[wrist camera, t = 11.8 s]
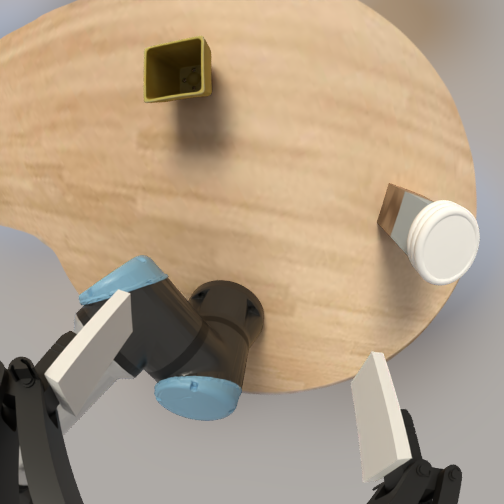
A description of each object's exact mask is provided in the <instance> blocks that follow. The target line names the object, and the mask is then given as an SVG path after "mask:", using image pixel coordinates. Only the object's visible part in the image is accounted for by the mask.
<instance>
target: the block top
mask: <svg viewBox="0 0 504 504" xmlns="http://www.w3.org/2000/svg"><path fill="white" fill-rule="evenodd" d="M431 203H433V202H432V201H429V200H427V199H424V198H422V197H419V196H417V195H414V194H411V193H409V192H406V191H405V193H404V197H403V200H402V203H401V206H400V210H399V213H398V216H397V219H396V222H395V225H394V228H393V230H392V233H391V236H390V237H391V238H392V239H393V240H394V241H395V242H396V244H397V245H398V246H399V247H400V248H401V249H402V250H403V251H404V253H405V254H406V255H407V256H408V252H407V238H408V233H409V230H410V227H411V225H412V223H413V221H414V219H415V218H416V216H417V215H418V214H419V212H420V211H421V210H422V209H423V208H425V207H426V206H427V205H429V204H431Z"/></svg>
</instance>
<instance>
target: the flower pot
mask: <svg viewBox="0 0 504 504" xmlns="http://www.w3.org/2000/svg"><path fill="white" fill-rule="evenodd" d="M193 69H195V72H193V71H192V70H193ZM184 79H186V82H183V80H184ZM194 86H195V87H196V89H195V90H193V89H192V88H193V87H194ZM211 93H212V85H211V50H210V48H209V46H208V44H207V42H206V40H205V39H204V37H203V36H196V37H191V38H187V39H182V40H178V41H173V42H168V43H164V44H159V45H155V46H151V47H148V48H146V49H145V50H144V102H145V103H155V102H168V101H173V100H179V99H186V98H194V97H203V96H209V95H211Z"/></svg>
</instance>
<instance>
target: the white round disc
mask: <svg viewBox="0 0 504 504" xmlns="http://www.w3.org/2000/svg"><path fill="white" fill-rule="evenodd" d="M479 240H480V236H479V227H478V224H477V221H476V219H475V218H474V216H473V215H472V214H471V213H470V211H468V210H467V209H465V208H464V207H462V206H460V205H458V204H456V203H454V202H452V201H447V200H440V201H436V202H433V203H431V204H429V205H427V206H426V207H425V208H423V209H422V210H421V211H420V212H419V214H418V215H417V216H416V218H415V219H414V221H413V223H412V225H411V227H410V230H409V233H408V238H407V252H408V257H409V260H410V262H411V264H412V266H413V267H414V268H415V269H416V271H417V272H418V273H419V274H420V276H421V277H422V278H423V279H424V280H425V281H427V282H429V283H431V284H434V285H447V284H450V283H452V282H454V281H456V280H458V279H459V278H460V277H461V276H462V275H464V274H465V273H466V271H467V270H468V269H469V267H470V266H471V265H472V263H473V261H474V259H475V257H476V254H477V251H478V247H479Z"/></svg>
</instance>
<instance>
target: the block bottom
mask: <svg viewBox="0 0 504 504" xmlns="http://www.w3.org/2000/svg"><path fill="white" fill-rule="evenodd" d="M405 191H406V192H409V193H411V194H414V195H417V196H419V197H422V198H424V199H427V200H429V201H432V200H430V199H428V198H426V197H424V196H422V195H420V194H417V193H415V192H412V191H410V190H407V189H404V188H402V187H399V186H396V185H393V184H390V183H389V185H388V188H387V192H386V195H385V198H384V202H383V205H382V208H381V211H380V214H379V217H378V220H377V223H378V224H379V225H380V226H381V227H382V228H383V229H384V230H385V232H386V233H387V234H388V235H389V236H391V233H392V230H393V228H394V225H395V222H396V219H397V216H398V213H399V210H400V206H401V203H402V200H403V197H404V193H405ZM432 202H434V201H432Z"/></svg>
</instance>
